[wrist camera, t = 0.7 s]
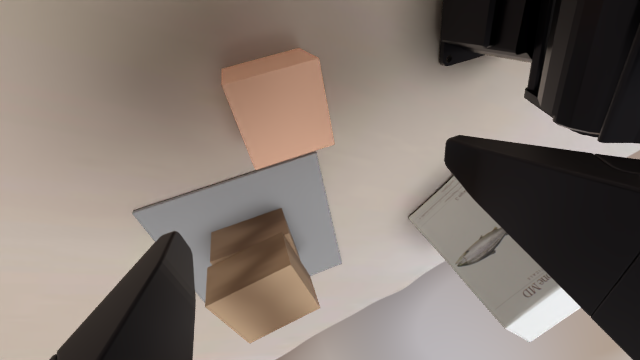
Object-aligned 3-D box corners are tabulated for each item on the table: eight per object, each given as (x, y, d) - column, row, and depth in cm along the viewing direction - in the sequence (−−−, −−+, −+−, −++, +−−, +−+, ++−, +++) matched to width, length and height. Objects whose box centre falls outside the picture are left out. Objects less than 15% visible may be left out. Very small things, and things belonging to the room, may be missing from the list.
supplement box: (458, 166, 27) (599, 261, 17) (484, 199, 31) (610, 291, 21) (405, 217, 29) (505, 331, 19) (436, 241, 33) (532, 346, 23)
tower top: (282, 231, 20) (290, 264, 18) (309, 274, 24) (320, 307, 21) (207, 267, 20) (205, 306, 17) (246, 306, 23) (249, 343, 21)
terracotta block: (298, 47, 17) (319, 58, 14) (314, 119, 20) (334, 144, 17) (221, 68, 17) (221, 85, 13) (249, 139, 20) (255, 170, 16)
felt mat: (315, 151, 21) (316, 153, 21) (341, 261, 29) (342, 263, 29) (133, 211, 20) (132, 213, 19) (213, 311, 28) (213, 313, 27)
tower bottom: (281, 207, 23) (289, 233, 20) (298, 253, 26) (306, 279, 24) (211, 232, 22) (209, 262, 20) (238, 275, 26) (239, 305, 23)
